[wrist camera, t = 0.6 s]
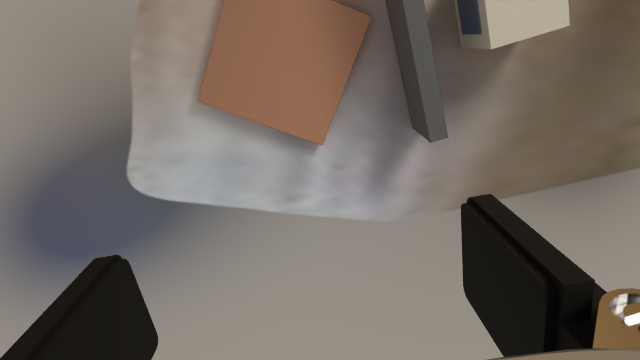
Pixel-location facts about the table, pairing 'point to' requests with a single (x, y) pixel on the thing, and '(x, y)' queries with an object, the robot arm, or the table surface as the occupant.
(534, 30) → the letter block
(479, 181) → the table surface
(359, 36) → the mat
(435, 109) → the long grey slat
